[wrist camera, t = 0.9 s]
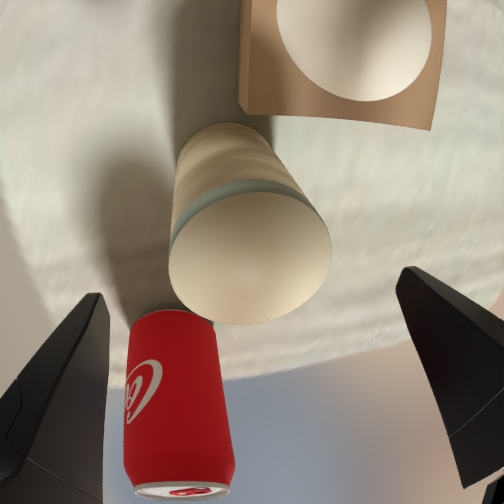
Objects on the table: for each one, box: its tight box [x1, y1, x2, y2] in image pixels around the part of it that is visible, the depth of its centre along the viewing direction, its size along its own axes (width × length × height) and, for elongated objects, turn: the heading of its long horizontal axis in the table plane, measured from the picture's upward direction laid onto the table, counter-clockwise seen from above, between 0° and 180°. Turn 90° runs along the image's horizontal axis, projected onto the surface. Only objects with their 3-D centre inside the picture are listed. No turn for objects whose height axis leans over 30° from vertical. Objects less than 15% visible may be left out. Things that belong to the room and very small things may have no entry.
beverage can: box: [124, 309, 235, 501], centre depth 18 cm, size 6×6×12 cm
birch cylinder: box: [168, 122, 332, 325], centre depth 13 cm, size 5×5×8 cm
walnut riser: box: [237, 0, 447, 131], centre depth 11 cm, size 9×9×3 cm
